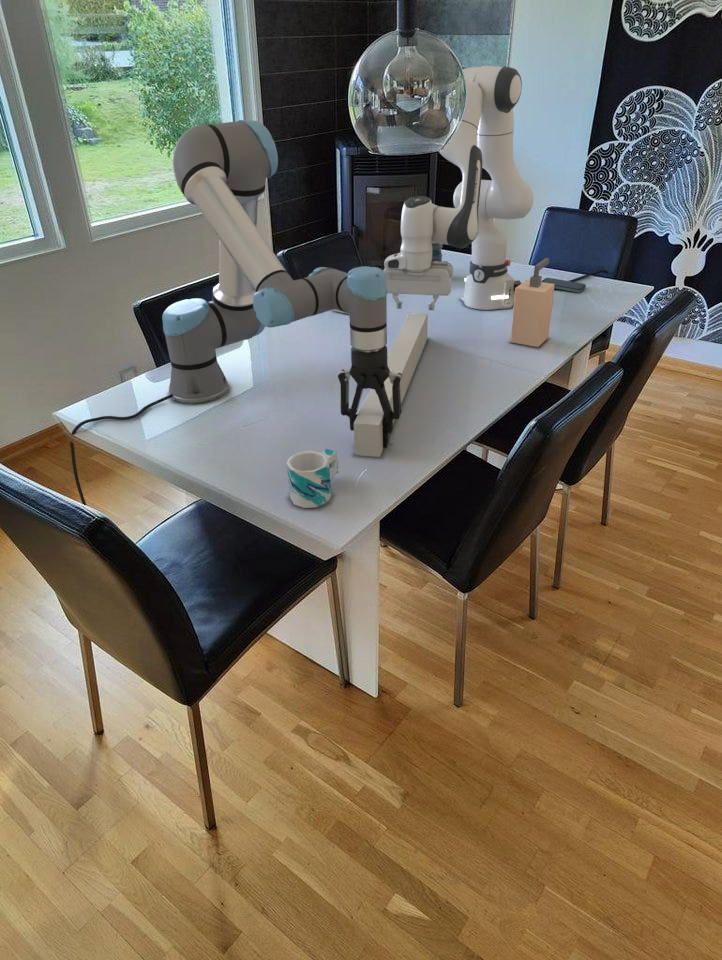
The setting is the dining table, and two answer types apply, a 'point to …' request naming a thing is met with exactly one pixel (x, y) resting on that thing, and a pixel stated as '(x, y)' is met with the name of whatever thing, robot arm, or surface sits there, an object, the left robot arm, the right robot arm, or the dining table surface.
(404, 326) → the bar
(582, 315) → the dining table surface
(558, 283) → the smartphone
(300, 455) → the mug
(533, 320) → the soap dispenser
